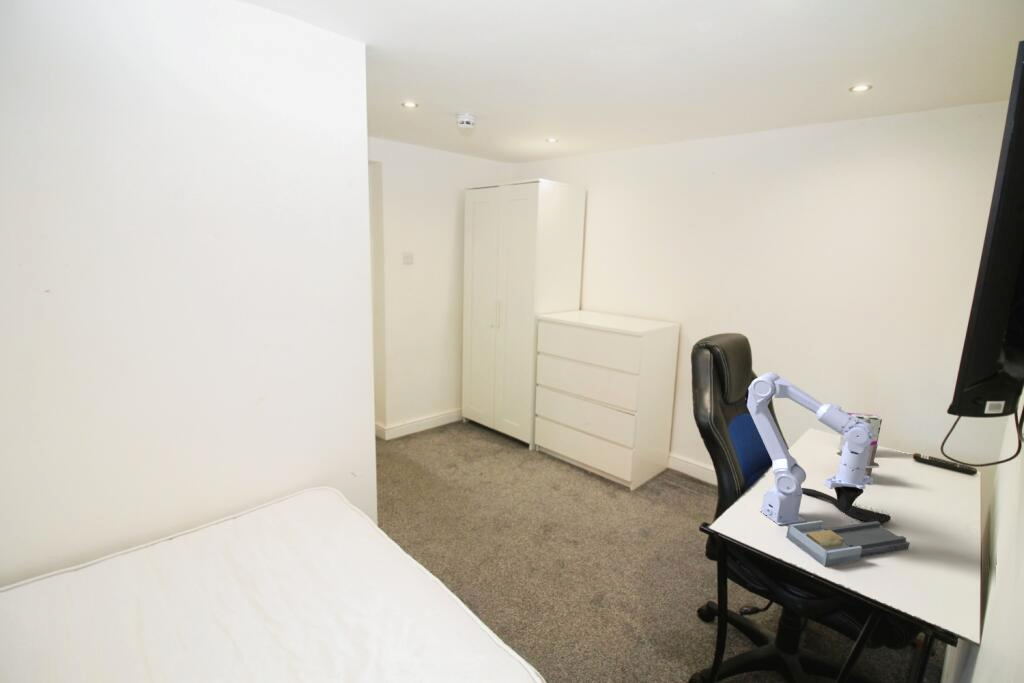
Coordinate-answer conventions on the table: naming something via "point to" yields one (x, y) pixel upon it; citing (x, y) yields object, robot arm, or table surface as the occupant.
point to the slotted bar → (870, 538)
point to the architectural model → (870, 461)
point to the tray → (820, 554)
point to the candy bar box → (872, 420)
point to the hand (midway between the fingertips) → (843, 509)
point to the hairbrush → (853, 509)
